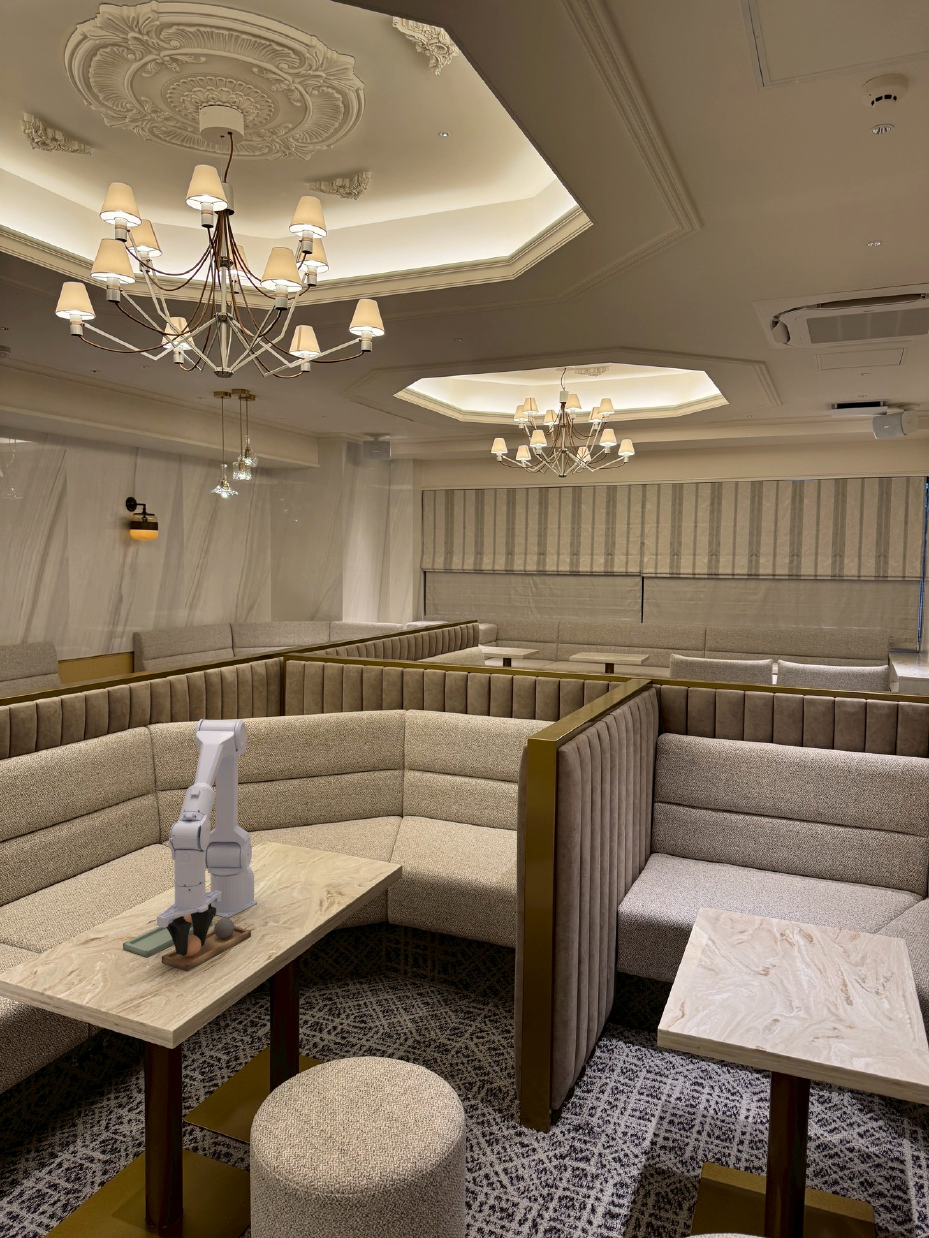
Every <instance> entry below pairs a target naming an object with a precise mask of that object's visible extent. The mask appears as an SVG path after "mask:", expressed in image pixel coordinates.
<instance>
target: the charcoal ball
mask: <svg viewBox="0 0 929 1238" xmlns="http://www.w3.org/2000/svg"><path fill="white" fill-rule="evenodd" d="M234 926H235V924H234V922H233V920H232V919H231V918H230V917H229V918H225V917H222V918H220V919H218V920H217V921H216V922H215V924H214V926H213V927H214V928H213V930H214V932H215V934H216V936H217V937H219V938H221V939H225V938H228V937H230V936H231V935H232V934H233V932H234Z"/></svg>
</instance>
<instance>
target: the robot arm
mask: <svg viewBox="0 0 929 1238" xmlns="http://www.w3.org/2000/svg"><path fill="white" fill-rule="evenodd" d="M194 742H195V746H196V750H197V752H198V753H199V754H198V761H197V767H196V772H195V778H194V784H193V785H191V786H189V787H188V788H187V789H186V792H185V796H184V800H183V802H182V806H181V810H180V813H179V817H178V819H177V821H176V822H173V823H172V825H171V828H170V831H169V839H168V845H169V849H170V851H171V860H173V861H174V862H173V863H174V903H173V904H172V905H170V906H169V907H168V908H167V909H166V910H165V911H163V912H162V913H160V914H158V915H156V927H163V928H165V927H166V928H167V929H168V931H169V933H170V935H171V937H172V940H173V942H174V944H173V945H174V950H175V949H176V953H177V954H179V955H182V956H184V955H186V954H187V948H188V935H189V930H190V927H191V924H192V923H193V935H195V936H197V937H198V938H199V939H200V941H201V946H203V945H204V944H205V940H206V936H207V933H208V932H209V929H210V924H211V921H212V922H213V919H214V917H215V916H218V917H222V918H229V919H230V918H231V917H233V916H236V915H238V914H239V913H241V912H243V911H245V910H247V909H249V908H252V907H253V906H255V905H256V904H258V901H257V900H255V875H254V871H253V869H252V867H251V866H250V864H251V861H252V855H253V854H252V852H253V849H252V848H253V847H252V844H251V835H250V833H249V832H248V831H247V830H245V829H244V828H242V827H241V826H240V825H239V824H238V820H239V819H238V818H239V814H238V813H239V805H238V804H239V802H238V801H239V759H240V755H242V754H245V753H246V752H247V746H248V745H247V743H248V730H247V726H246V723H245V722H244V721H243V719H237V720H236V719H235V720H234V719H233V720H231V719H203V718H201V719H200V720H198V722H197V723H196V724H195V729H194ZM214 783H215V791H214V789H213V786H214ZM214 804H215V827H214V828H213V829H212V830H211V826H212V825H211V824H212V822H211V815H212V811H213V807H214ZM206 870H207V874H210V891H207V890H206ZM206 891H207V892H206ZM189 914H191V918H192V923H190V922H187V921H186V919H184V916H186V915H189Z"/></svg>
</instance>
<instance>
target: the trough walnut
mask: <svg viewBox="0 0 929 1238" xmlns="http://www.w3.org/2000/svg"><path fill="white" fill-rule="evenodd" d="M251 936H252V930H250V929H247V928H243V927H239V926H236V925H234V932H233V934H232V935H231V936H230V937H228V938H225V939H221V938H219V937H217V936H216V934H215V932H214V929H212V930H210V931H208V932H207V936H206V940H205V944H204V945H203V946H201V949H200V951H199V952H198V953H197V954H196V955H194V956H192V957H187V956H182V955H179V954H177V953H176V949H175V948H174V949H173V950H171V951H170V952H168V953H166V954H163V955H162V956H161V963H163V964H165V965H168V966H171V967H174V968H177V969H180V970H182V971H186V972H189V971H190V970H192V969H194V968H197V967H198V966H199V965H202V964H203V963H205V962H207V961H209V960H210V959H213V958H215V957H216V956H218V955H220V954H222V953H223V952H225V951H227V950H229V949H231V948H232V947H234V946H236V945H238V944H240V943H241V942H243V941H245V940H247V939H249V938H250V937H251Z"/></svg>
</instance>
